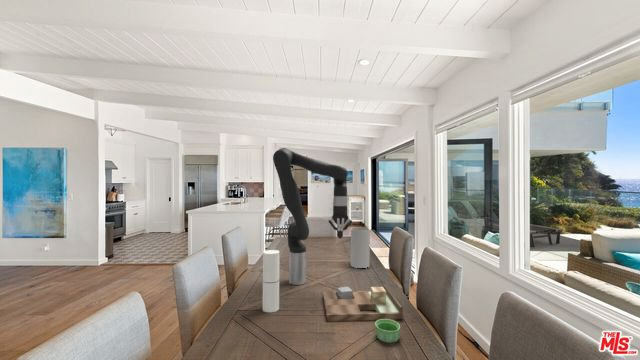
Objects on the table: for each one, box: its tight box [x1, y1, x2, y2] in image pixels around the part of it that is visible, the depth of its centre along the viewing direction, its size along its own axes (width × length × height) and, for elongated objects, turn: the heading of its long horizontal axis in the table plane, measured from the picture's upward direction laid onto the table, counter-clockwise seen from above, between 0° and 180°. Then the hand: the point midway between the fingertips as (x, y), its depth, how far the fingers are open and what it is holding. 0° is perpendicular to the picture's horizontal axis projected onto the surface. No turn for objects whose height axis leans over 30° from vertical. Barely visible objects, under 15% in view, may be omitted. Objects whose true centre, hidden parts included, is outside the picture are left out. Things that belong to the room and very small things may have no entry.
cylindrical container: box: [262, 249, 280, 313], centre depth 122 cm, size 7×7×25 cm
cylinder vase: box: [350, 226, 371, 269], centre depth 185 cm, size 12×12×25 cm
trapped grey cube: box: [336, 286, 354, 299], centre depth 131 cm, size 6×6×6 cm
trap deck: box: [322, 285, 404, 322], centre depth 125 cm, size 31×24×5 cm
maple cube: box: [370, 286, 386, 304], centre depth 125 cm, size 6×6×6 cm
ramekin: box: [374, 319, 401, 343], centre depth 101 cm, size 9×9×4 cm
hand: (339, 238), depth 145 cm, fingers closed
